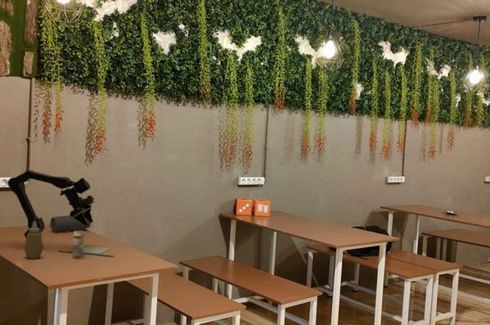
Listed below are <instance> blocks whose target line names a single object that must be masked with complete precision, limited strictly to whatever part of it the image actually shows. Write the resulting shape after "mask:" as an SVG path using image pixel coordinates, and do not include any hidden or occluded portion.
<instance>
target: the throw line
mask: <svg viewBox="0 0 490 325" xmlns="http://www.w3.org/2000/svg"><path fill="white" fill-rule="evenodd" d="M58 253H68V254H73V250H72V251H71V250H58ZM83 255H86V256H87V255H89V256H96V257H98V256H100V257H109V258H113V257H115V255H113V254H111V255H109V254H103V253H101V254H93V253H83Z"/></svg>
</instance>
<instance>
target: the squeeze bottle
mask: <svg viewBox="0 0 490 325" xmlns="http://www.w3.org/2000/svg"><path fill="white" fill-rule="evenodd" d="M28 230H29V232H30V233H28V234H27V239H26V238H25V246H24V253H25V256H26V258H27V259H31V260H33V259H34V260H35V259H36V260H37V259H40V258H41V255H42V252H43V250H44V249H43V239H42V238H43V237H42V236H43V235H42V232H41V233H40V232H39V231H40V229H39V228H37V224H36V221H33V225H32V228H30V229H29V228H28Z"/></svg>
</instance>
